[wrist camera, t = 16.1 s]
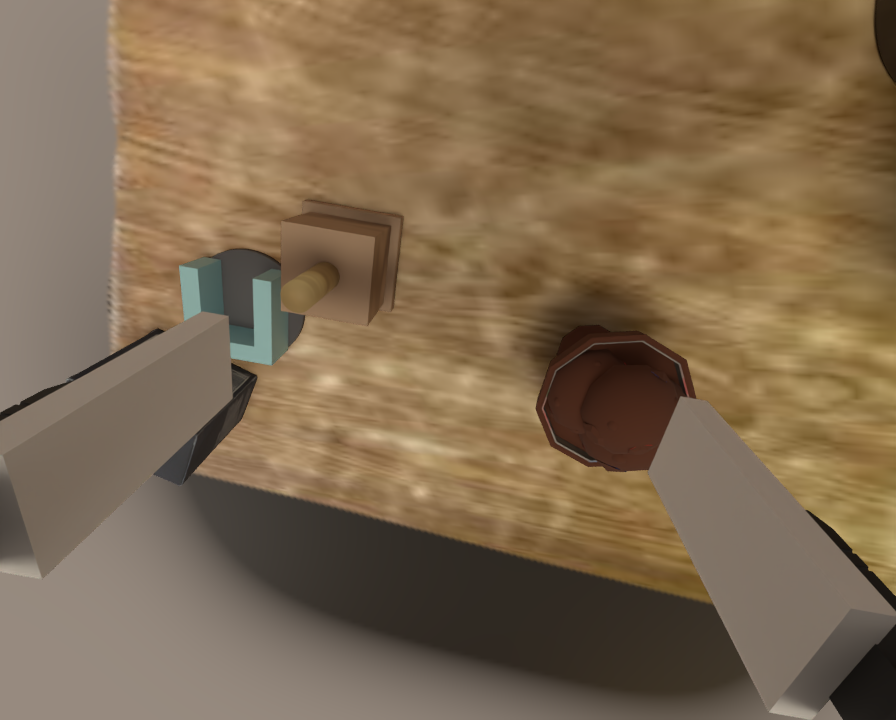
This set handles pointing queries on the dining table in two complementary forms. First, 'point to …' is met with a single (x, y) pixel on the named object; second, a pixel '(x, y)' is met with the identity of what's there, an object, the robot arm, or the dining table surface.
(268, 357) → the c link
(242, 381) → the small box
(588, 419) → the ice cream bowl
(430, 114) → the dining table surface
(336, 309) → the stand
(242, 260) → the coaster
